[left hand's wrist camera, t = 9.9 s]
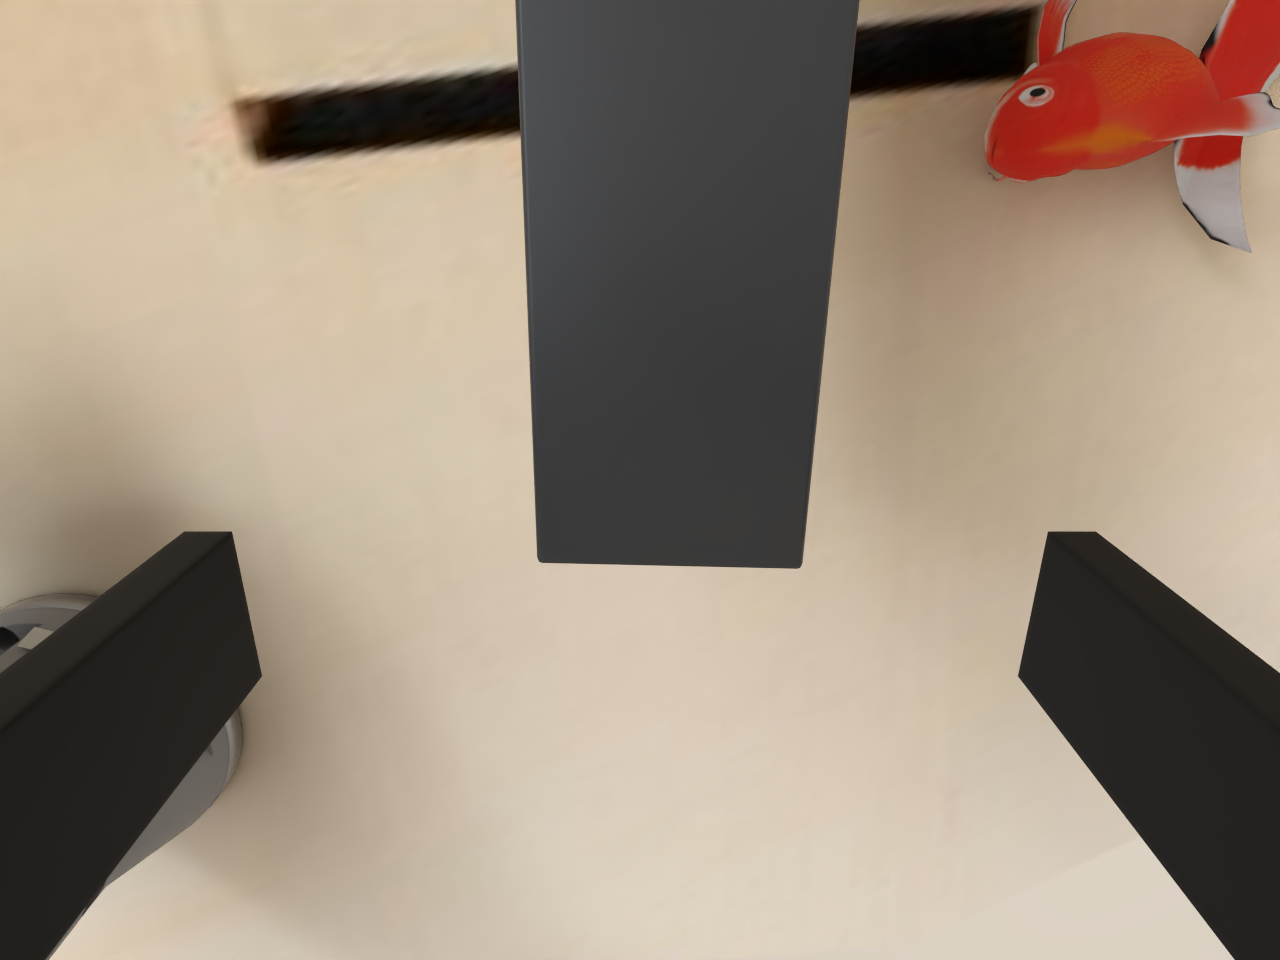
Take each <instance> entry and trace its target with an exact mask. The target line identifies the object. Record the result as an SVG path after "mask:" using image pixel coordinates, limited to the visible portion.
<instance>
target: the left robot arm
mask: <svg viewBox="0 0 1280 960" xmlns="http://www.w3.org/2000/svg"><path fill="white" fill-rule="evenodd" d="M261 677H262V674H261V669H260V665H259V660H258V655H257V650H256V645H255V641H254V636H253V631H252V626H251V621H250V616H249V612H248V607H247V602H246V597H245V592H244V588H243V583H242V578H241V573H240V568H239V563H238V559H237V554H236V549H235V544H234V539H233V535H232V532H183V533H182V534H181V535H179V536H178V537H177V538H175V539H174V540H173V541H171V542H170V543H169V544H168V545H166V546H165V547H164V548H162V549H161V550H160V551H158V552H157V553H156V554H155V555H153V556H152V557H151V558H149V559H148V560H147V561H145V562H144V563H143V564H142V565H140V566H139V567H138V568H136V569H135V570H134V571H132V572H131V573H130V574H129V575H127V576H126V577H125V578H123V579H122V580H121V581H119V582H118V583H117V584H116V585H114V586H113V587H112V588H110V589H109V590H108V591H106V592H105V593H104V594H103V595H101V596H100V597H94V596H88V595H78V594H53V595H43V596H37V597H32V598H29V599H25V600H22V601H19V602H16V603H14V604H11V605H9V606H7V607H5V608H4V609H2V610H0V960H49V959H50V957H51V956H52V955H53V954H54V952H55V951H56V950H57V948H58V947H59V946H60V945H61V943H62V942H63V941H64V939H65V938H66V937H67V936H68V934H69V933H70V932H71V930H72V929H73V928H74V927H75V925H76V924H77V922H78V921H79V920H80V918H81V917H82V916H83V915H84V913H85V912H86V911H87V909H88V908H89V907H90V906H91V904H92V903H93V902H94V901H95V899H96V898H97V897H98V896H99V894H100V893H101V892H102V891H103V890H104V888H105V887H106V886H108V885H109V884H110V883H112V882H113V881H114V880H116V879H117V878H119V877H120V876H121V875H123V874H124V873H126V872H127V871H128V870H130V869H131V868H132V867H134V866H135V865H137V864H138V863H139V862H141V861H142V860H144V859H145V858H146V857H148V856H149V855H151V854H152V853H153V852H155V851H156V850H157V849H159V848H160V847H162V846H163V845H164V844H166V843H167V842H169V841H170V840H171V839H173V838H174V837H175V836H177V835H178V834H180V833H181V832H182V831H184V830H185V829H186V828H188V827H189V826H190V825H192V824H193V823H194V822H195V821H196V820H197V819H198V818H199V817H200V816H201V815H202V814H203V813H204V812H205V811H206V810H207V809H208V808H209V807H210V806H211V805H212V804H213V802H214V801H215V800H216V799H217V798H218V796H219V795H220V793H221V792H222V790H223V789H224V788H225V786H226V785H227V783H228V782H229V781H230V779H231V777H232V776H233V774H234V772H235V770H236V767H237V765H238V762H239V758H240V755H241V748H242V727H241V720H240V716H239V712H238V709H237V708H238V707H239V705H240V704H241V703H242V702H243V700H244V699H245V698H246V696H247V695H248V694H249V692H250V691H251V690H252V688H253V687H254V686H255V684H256V683H257V682H258V681H259V679H260V678H261ZM1018 677H1019V678H1020V679H1021V681H1022V682H1023V683H1024V684H1025V686H1026V687H1027V688H1028V690H1029V691H1030V692H1031V694H1032V695H1033V696H1034V698H1035V699H1036V700H1037V702H1038V703H1039V704H1040V705H1041V707H1042V708H1043V709H1044V711H1045V712H1046V713H1047V715H1048V716H1049V717H1050V719H1051V720H1052V721H1053V722H1054V724H1055V725H1056V726H1057V728H1058V729H1059V730H1060V732H1061V733H1062V734H1063V736H1064V737H1065V738H1066V739H1067V741H1068V742H1069V743H1070V745H1071V746H1072V747H1073V749H1074V750H1075V751H1076V753H1077V754H1078V755H1079V756H1080V758H1081V759H1082V760H1083V762H1084V763H1085V764H1086V766H1087V767H1088V768H1089V770H1090V771H1091V772H1092V773H1093V775H1094V776H1095V777H1096V779H1097V780H1098V781H1099V783H1100V784H1101V785H1102V787H1103V788H1104V789H1105V791H1106V792H1107V793H1108V794H1109V796H1110V797H1111V798H1112V800H1113V801H1114V802H1115V804H1116V805H1117V806H1118V808H1119V809H1120V810H1121V811H1122V813H1123V814H1124V815H1125V817H1126V818H1127V819H1128V821H1129V822H1130V823H1131V825H1132V826H1133V827H1134V828H1135V830H1136V831H1137V832H1138V834H1139V835H1140V836H1141V838H1142V839H1143V840H1144V842H1145V843H1146V844H1147V845H1148V847H1149V848H1150V849H1151V851H1152V852H1153V853H1154V855H1155V856H1156V857H1157V859H1158V860H1159V861H1160V862H1161V864H1162V865H1163V866H1164V868H1165V869H1166V870H1167V872H1168V873H1169V874H1170V876H1171V877H1172V878H1173V880H1174V881H1175V882H1176V883H1177V885H1178V886H1179V887H1180V889H1181V890H1182V891H1183V892H1184V894H1185V895H1186V896H1187V898H1188V899H1189V900H1190V902H1191V903H1192V904H1193V906H1194V907H1195V908H1196V910H1197V911H1198V912H1199V914H1200V915H1201V916H1202V917H1203V919H1204V920H1205V921H1206V923H1207V924H1208V925H1209V927H1210V928H1211V929H1212V931H1213V932H1214V933H1215V934H1216V936H1217V937H1218V938H1219V940H1220V941H1221V942H1222V944H1223V945H1224V946H1225V948H1226V949H1227V950H1228V951H1229V953H1230V954H1231V955H1232V957H1233V958H1234V959H1235V960H1280V673H1279V672H1278V671H1276V670H1275V669H1274V668H1272V667H1271V666H1270V665H1268V664H1267V663H1266V662H1265V661H1263V660H1262V659H1261V658H1259V657H1258V656H1257V655H1255V654H1254V653H1253V652H1252V651H1250V650H1249V649H1248V648H1246V647H1245V646H1244V645H1242V644H1241V643H1240V642H1239V641H1237V640H1236V639H1235V638H1233V637H1232V636H1231V635H1229V634H1228V633H1227V632H1226V631H1224V630H1223V629H1222V628H1220V627H1219V626H1218V625H1216V624H1215V623H1214V622H1213V621H1211V620H1210V619H1209V618H1207V617H1206V616H1205V615H1203V614H1202V613H1201V612H1200V611H1198V610H1197V609H1196V608H1194V607H1193V606H1192V605H1190V604H1189V603H1188V602H1187V601H1185V600H1184V599H1183V598H1181V597H1180V596H1179V595H1177V594H1176V593H1175V592H1174V591H1172V590H1171V589H1170V588H1168V587H1167V586H1166V585H1164V584H1163V583H1162V582H1161V581H1159V580H1158V579H1157V578H1155V577H1154V576H1153V575H1151V574H1150V573H1149V572H1148V571H1146V570H1145V569H1144V568H1142V567H1141V566H1140V565H1138V564H1137V563H1136V562H1135V561H1133V560H1132V559H1131V558H1129V557H1128V556H1127V555H1125V554H1124V553H1123V552H1122V551H1120V550H1119V549H1118V548H1116V547H1115V546H1114V545H1112V544H1111V543H1110V542H1109V541H1107V540H1106V539H1105V538H1103V537H1102V536H1101V535H1099V534H1098V533H1097V532H1048V535H1047V539H1046V544H1045V549H1044V554H1043V559H1042V563H1041V568H1040V573H1039V578H1038V583H1037V588H1036V592H1035V597H1034V602H1033V607H1032V612H1031V616H1030V621H1029V626H1028V631H1027V636H1026V641H1025V645H1024V650H1023V655H1022V660H1021V665H1020V669H1019V674H1018Z"/></svg>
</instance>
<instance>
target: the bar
mask: <svg viewBox="0 0 1280 960" xmlns="http://www.w3.org/2000/svg"><path fill="white" fill-rule="evenodd" d="M515 2H516V28H517V53H518V78H519V104H520V129H521V155H522V180H523V206H524V231H525V257H526V282H527V307H528V333H529V358H530V384H531V409H532V435H533V460H534V485H535V511H536V536H537V558H538V560H539V562H542V563H576V564H620V565H664V566H708V567H752V568H796V569H797V568H800V567H801V565H802V561H803V551H804V542H805V532H806V522H807V512H808V502H809V492H810V482H811V472H812V463H813V453H814V443H815V433H816V423H817V413H818V403H819V394H820V384H821V374H822V364H823V354H824V344H825V334H826V325H827V315H828V305H829V295H830V285H831V275H832V265H833V255H834V246H835V236H836V226H837V216H838V206H839V196H840V186H841V177H842V167H843V157H844V147H845V137H846V127H847V117H848V108H849V98H850V88H851V78H852V68H853V58H854V48H855V38H856V29H857V19H858V9H859V0H515Z"/></svg>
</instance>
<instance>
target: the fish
mask: <svg viewBox="0 0 1280 960" xmlns="http://www.w3.org/2000/svg"><path fill="white" fill-rule="evenodd" d="M1076 1H1077V0H1048V2H1047V3H1046V5H1045V7H1044V8H1043V12H1042V16H1041V21H1040V25H1039V29H1038V34H1037V63H1033V64H1031V66H1030V67H1029V68H1028V69H1027V71H1026V72H1025V73H1024V75H1023V76H1022V77H1020V78H1019V80H1018V81H1017V82H1016V83H1015V84H1014V85H1013V86H1012V87H1011V88H1010V89H1009V90H1008V91H1007V92H1006V93H1005V94H1004V96H1003V97H1002V98H1001V100H1000V101H999V103H998V104H997V106H996V107H995V109H994V111H993V113H992V115H991V118H990V121H989V123H988V126H987V129H986V132H985V139H984V145H985V156H986V158H987V161H988V163H989V165H990V166H991V167H992V168H994V169H995V170H996V171H997V172H999V173H1001V174H1003V175H1004V176H1003V177H1002V178H1000V179H996V178H995V177H994V176H993V175H992V174H991V173H989V175H990V176H991V178H992V179H993V181H1002V180H1004V179H1007V178H1009V179H1011V180H1013V181H1015V182H1019V183H1026V182H1030V181H1033V180H1036V179H1039V178H1043V177H1054V176H1060V175H1064V174H1066V173H1068V172H1070V171H1071V170H1072V169H1081V170H1087V169H1107V168H1112V167H1116V166H1120V165H1123V164H1126V163H1129V162H1132V161H1134V160H1137V159H1139V158H1142V157H1144V156H1147V155H1149V154H1152V153H1154V152H1156V151H1158V150H1160V149H1162V148H1164V147H1166V146H1167V145H1169V144H1171V143H1173V142H1174V141H1175V143H1174V169H1175V175H1176V180H1177V185H1178V189H1179V192H1180V195H1181V199H1182V202H1183V205H1184V206H1185V207H1186V208H1187V210H1188V211H1189V212H1190V213H1191V215H1192V216H1193V217H1194V218H1195V220H1196V221H1197V222H1198V223H1199V225H1200V226H1201V227H1202V228H1203V230H1204V231H1205V232H1206V233H1207V235H1208V236H1209V237H1210V238H1211V239H1213V240H1215V241H1218V242H1221V243H1224V244H1227V245H1230V246H1233V247H1236V248H1238V249H1241V250H1244V251H1247V252H1250V253H1252V251H1251V249H1250V246H1249V243H1248V240H1247V235H1246V230H1245V226H1244V219H1243V213H1242V204H1241V192H1240V157H1241V145H1242V139H1243V136H1253V135H1257V134H1260V133H1263V132H1267V131H1270V130H1274V129H1277V128H1280V109H1279V108H1276V107H1275V106H1273V104H1272V101H1271V98H1270V96H1269V95H1268V94H1267V93H1265V91H1266V90H1267V89H1268V88H1269V86H1270V85H1271V84H1272V83H1273V81H1274V80H1275V79H1276V78H1277V77H1278V76H1279V75H1280V0H1230V2H1229V4H1228V6H1227V7H1226V9H1225V11H1224V13H1223V14H1222V16H1221V18H1220V19H1219V21H1218V23H1217V25H1216V26H1215V28H1214V30H1213V32H1212V33H1211V35H1210V37H1209V39H1208V40H1207V42H1206V44H1205V45H1204V47H1203V49H1202V51H1201V54H1200V57H1199V58H1198V57H1197V56H1196V55H1195V54H1193V53H1192V52H1191V51H1189V50H1187V49H1186V48H1184V47H1182V46H1181V45H1179V44H1177V43H1175V42H1174V41H1172V40H1170V39H1167V38H1164V37H1159V36H1153V35H1144V34H1135V33H1113V34H1108V35H1105V36H1101V37H1098V38H1094V39H1090V40H1087V41H1083V42H1080V43H1077V44H1074V45H1072V46H1070V47H1067V48H1066V49H1064V50H1063V46H1064V39H1065V28H1066V22H1067V19H1068V17H1069V14H1070V12H1071V10H1072V8H1073V7H1074V5H1075V3H1076Z"/></svg>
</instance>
